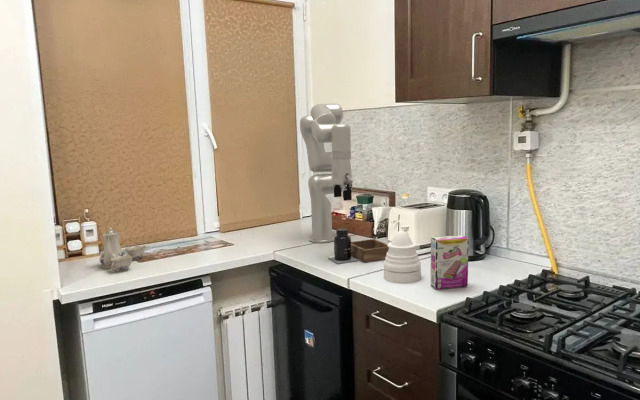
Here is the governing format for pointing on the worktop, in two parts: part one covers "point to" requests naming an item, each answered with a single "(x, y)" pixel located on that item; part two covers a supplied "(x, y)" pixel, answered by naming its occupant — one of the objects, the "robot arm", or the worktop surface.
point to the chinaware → (118, 252)
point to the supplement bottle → (342, 245)
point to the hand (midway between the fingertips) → (342, 198)
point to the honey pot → (402, 259)
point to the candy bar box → (449, 262)
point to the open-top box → (369, 250)
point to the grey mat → (343, 261)
